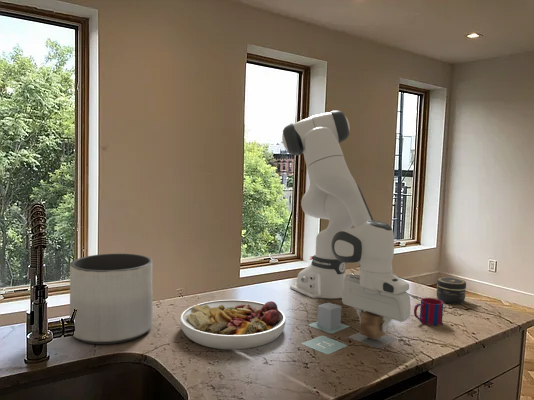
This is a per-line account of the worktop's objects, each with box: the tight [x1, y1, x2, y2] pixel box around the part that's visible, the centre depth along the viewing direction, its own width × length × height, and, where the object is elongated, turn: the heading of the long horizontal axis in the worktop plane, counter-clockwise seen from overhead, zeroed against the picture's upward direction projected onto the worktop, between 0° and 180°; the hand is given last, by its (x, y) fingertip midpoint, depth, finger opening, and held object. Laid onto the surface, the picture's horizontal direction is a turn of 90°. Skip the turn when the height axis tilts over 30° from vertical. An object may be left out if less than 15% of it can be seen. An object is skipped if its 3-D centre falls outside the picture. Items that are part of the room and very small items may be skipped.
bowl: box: [179, 299, 286, 351], centre depth 130 cm, size 30×30×8 cm
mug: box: [413, 297, 444, 327], centre depth 143 cm, size 7×10×7 cm
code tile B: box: [308, 321, 351, 334], centre depth 135 cm, size 9×9×1 cm
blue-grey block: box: [316, 302, 342, 330], centre depth 135 cm, size 5×5×6 cm
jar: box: [436, 276, 467, 305], centre depth 166 cm, size 10×10×8 cm
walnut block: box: [359, 311, 386, 339], centre depth 126 cm, size 5×5×6 cm
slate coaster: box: [347, 331, 398, 350], centre depth 127 cm, size 10×10×1 cm
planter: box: [69, 253, 154, 345], centre depth 127 cm, size 22×22×20 cm
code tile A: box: [300, 335, 349, 356], centre depth 121 cm, size 9×9×1 cm
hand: (373, 327), depth 127 cm, fingers closed on walnut block, 5 cm apart
